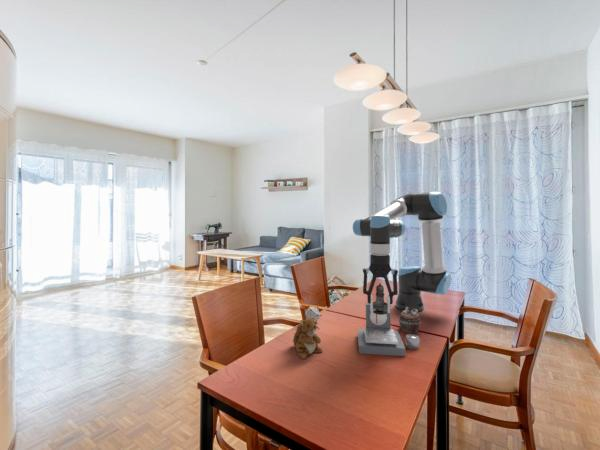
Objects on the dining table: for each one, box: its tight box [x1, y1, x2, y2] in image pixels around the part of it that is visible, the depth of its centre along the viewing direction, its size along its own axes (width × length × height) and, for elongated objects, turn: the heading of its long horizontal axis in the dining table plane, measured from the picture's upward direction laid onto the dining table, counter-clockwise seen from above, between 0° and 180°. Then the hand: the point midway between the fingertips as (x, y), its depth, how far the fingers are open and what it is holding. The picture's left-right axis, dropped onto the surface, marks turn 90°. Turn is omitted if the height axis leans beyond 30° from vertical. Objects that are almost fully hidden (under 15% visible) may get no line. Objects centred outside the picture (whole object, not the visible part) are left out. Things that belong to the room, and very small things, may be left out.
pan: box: [363, 327, 398, 344], centre depth 117 cm, size 12×12×2 cm
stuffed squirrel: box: [292, 318, 324, 360], centre depth 115 cm, size 10×14×13 cm
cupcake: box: [398, 307, 422, 334], centre depth 134 cm, size 10×10×10 cm
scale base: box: [357, 302, 406, 357], centre depth 118 cm, size 17×16×15 cm
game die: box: [302, 305, 323, 325], centre depth 144 cm, size 9×8×10 cm
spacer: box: [405, 333, 420, 350], centre depth 118 cm, size 5×5×4 cm
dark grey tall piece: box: [373, 282, 388, 315], centre depth 116 cm, size 6×6×12 cm
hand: (379, 311), depth 116 cm, fingers closed on dark grey tall piece, 6 cm apart
